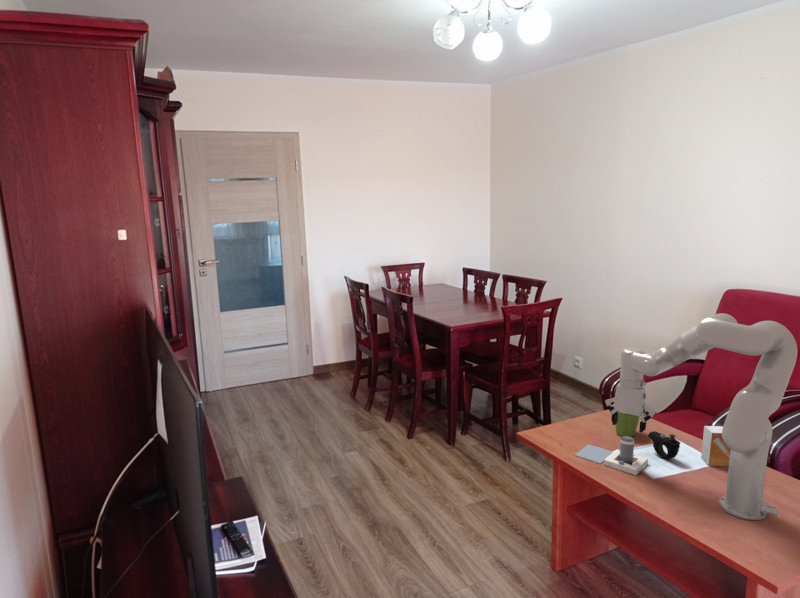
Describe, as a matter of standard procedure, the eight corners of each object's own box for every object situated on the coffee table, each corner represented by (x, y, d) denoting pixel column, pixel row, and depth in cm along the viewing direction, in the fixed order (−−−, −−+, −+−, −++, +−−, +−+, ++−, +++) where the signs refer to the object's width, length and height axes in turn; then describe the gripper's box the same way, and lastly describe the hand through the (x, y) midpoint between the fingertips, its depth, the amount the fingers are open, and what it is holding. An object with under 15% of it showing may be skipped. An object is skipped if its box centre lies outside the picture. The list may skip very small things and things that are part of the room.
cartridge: (634, 463, 198) (636, 438, 196) (629, 468, 194) (631, 442, 193) (621, 460, 201) (623, 434, 199) (617, 464, 197) (618, 439, 196)
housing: (647, 463, 198) (648, 456, 197) (635, 475, 190) (636, 467, 189) (616, 453, 206) (616, 447, 205) (603, 464, 197) (604, 457, 197)
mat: (613, 452, 207) (613, 451, 206) (600, 463, 198) (600, 463, 198) (588, 444, 213) (588, 444, 213) (574, 455, 205) (574, 454, 205)
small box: (708, 466, 195) (711, 432, 193) (700, 458, 201) (703, 425, 199) (732, 467, 194) (735, 433, 192) (723, 458, 200) (726, 425, 198)
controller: (672, 465, 196) (674, 439, 195) (645, 450, 208) (646, 426, 206) (680, 462, 198) (683, 437, 196) (653, 448, 209) (655, 424, 207)
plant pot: (646, 440, 217) (647, 413, 215) (616, 440, 217) (617, 413, 215) (634, 427, 228) (636, 402, 226) (606, 427, 229) (607, 402, 227)
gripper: (660, 385, 189) (656, 431, 192) (611, 374, 200) (608, 418, 203) (652, 390, 183) (649, 437, 186) (602, 379, 195) (600, 424, 198)
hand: (628, 427), depth 195 cm, fingers open, 9 cm apart
